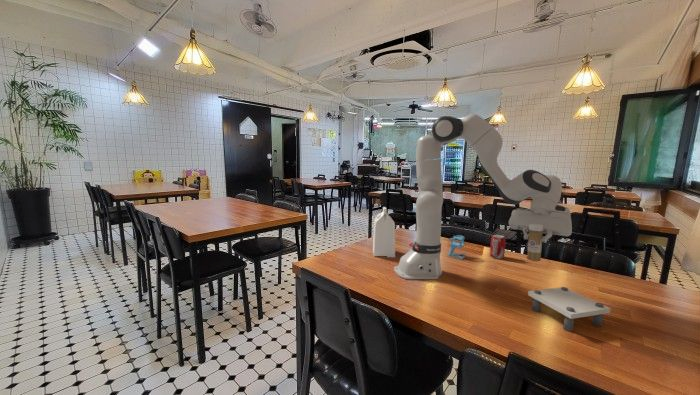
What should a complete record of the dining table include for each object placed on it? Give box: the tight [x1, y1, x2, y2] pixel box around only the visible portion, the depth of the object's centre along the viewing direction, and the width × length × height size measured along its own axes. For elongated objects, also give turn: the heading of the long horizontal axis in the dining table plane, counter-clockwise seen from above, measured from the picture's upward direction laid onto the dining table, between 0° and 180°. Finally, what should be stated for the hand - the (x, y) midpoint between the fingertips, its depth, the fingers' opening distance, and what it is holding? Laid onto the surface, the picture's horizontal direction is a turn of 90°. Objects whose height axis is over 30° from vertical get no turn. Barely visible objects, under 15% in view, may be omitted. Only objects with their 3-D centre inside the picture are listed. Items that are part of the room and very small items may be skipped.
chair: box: [447, 234, 467, 260], centre depth 160 cm, size 8×8×12 cm
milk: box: [372, 206, 396, 258], centre depth 162 cm, size 12×12×26 cm
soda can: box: [489, 234, 506, 260], centre depth 159 cm, size 7×7×12 cm
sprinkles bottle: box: [526, 224, 543, 262], centre depth 109 cm, size 5×5×13 cm
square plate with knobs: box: [527, 286, 612, 332], centre depth 100 cm, size 16×16×7 cm
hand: (534, 240), depth 108 cm, fingers closed on sprinkles bottle, 4 cm apart
